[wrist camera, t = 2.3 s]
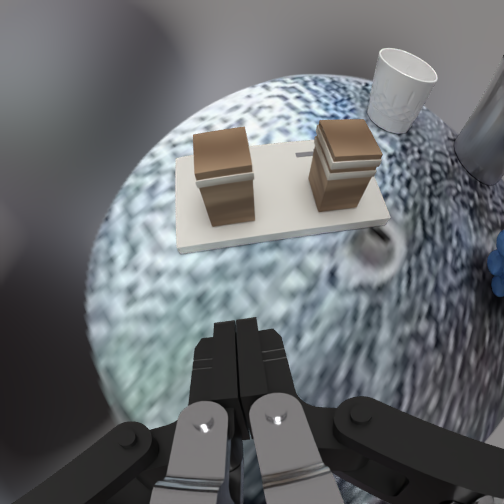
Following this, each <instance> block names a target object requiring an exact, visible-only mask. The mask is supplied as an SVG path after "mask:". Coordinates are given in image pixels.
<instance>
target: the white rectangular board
mask: <svg viewBox="0 0 504 504" xmlns="http://www.w3.org/2000/svg"><path fill="white" fill-rule="evenodd" d="M314 147H315V144H314V140H307V141H294V142H283V143H274V144H264V145H256V146H249V149H250V154H251V160H252V165H253V170H254V180H253V190H254V207H255V221H248V222H241V223H234V224H227V225H221V226H214V227H212V225H211V222H210V219H209V216H208V213H207V210H206V207H205V204H204V201H203V198H202V196H201V193H200V190H199V188H197V186H196V183H195V174H194V155H190V156H185V157H180V158H176V186H175V189H176V243H177V249H178V251H179V252H180V254H185V253H192V252H199V251H205V250H212V249H219V248H226V247H232V246H239V245H246V244H253V243H260V242H267V241H274V240H280V239H287V238H294V237H301V236H309V235H316V234H323V233H330V232H337V231H344V230H351V229H359V228H366V227H373V226H381V225H386V224H387V222H388V221H389V220H390V215H389V212H388V210H387V207H386V204H385V202H384V199H383V197H382V194H381V192H380V189H379V187H378V184H377V182H376V180H375V177H372V178H371V180H370V182H369V184H368V186H367V188H366V190H365V192H364V194H363V196H362V198H361V200H360V202H359V204H358V206H357V207H356V208H347V209H339V210H331V211H322V212H318V209H317V206H316V202H315V199H314V196H313V192H312V189H311V186H310V182H309V179H308V177H309V172H310V168H311V163H312V158H313V153H314Z"/></svg>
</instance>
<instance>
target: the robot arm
mask: <svg viewBox="0 0 504 504" xmlns="http://www.w3.org/2000/svg"><path fill="white" fill-rule="evenodd" d="M454 148H455V152H456V154H457V156H458V158H459V160H460V162H461V163H462V164H463V166H464V167H465V168H466V169H467V171H468V172H469V173H470V174H471V175H473V176H474V177H475V178H476V179H478V180H479V181H481V182H482V183H484V184H487V185H494V184H496V183H497V182H498V181H499V180H500V178H501V177H502V176H503V175H504V55H503V57H502V59H501V61H500V64H499V66H498V68H497V70H496V71H495V74H494V76H493V77H492V79H491V81H490V83H489V85H488V87H487V89H486V90H485V92H484V94H483V96H482V97H481V99H480V101H479V103H478V104H477V106H476V108H475V110H474V111H473V113H472V115H471V116H470V118H469V120H468V121H467V123H466V125H465V126H464V128H463V129H462V131H461V132H460V134H459V135H458V137H457V138H456V140H455V143H454ZM249 430H250V434H251V437H252V439H254V442H255V447H256V452H257V457H258V462H259V466H260V471H261V476H262V483H263V489H264V493H265V498H266V502H267V504H344V502H343V499H342V497H341V494H340V491H339V489H338V486H337V484H336V481H335V479H334V476H333V474H332V473H334V474H335V475H337V476H338V477H340V478H342V479H344V480H346V481H347V482H349V483H351V484H353V485H355V486H356V487H358V488H360V489H362V490H364V491H366V492H368V493H370V494H372V495H374V496H376V497H378V498H380V499H382V500H384V501H386V502H388V503H390V504H504V449H502V448H499V447H496V446H492V445H489V444H486V443H483V442H480V441H477V440H474V439H471V438H468V437H466V436H463V435H460V434H457V433H455V432H452V431H449V430H447V429H444V428H441V427H439V426H436V425H434V424H431V423H429V422H426V421H424V420H421V419H419V418H416V417H414V416H412V415H409V414H407V413H405V412H402V411H400V410H398V409H395V408H393V407H391V406H389V405H386V404H384V403H382V402H380V401H378V400H375V399H373V398H370V397H364V396H359V397H353V398H350V399H347V400H345V401H344V402H342V403H341V404H340V405H339V406H338V408H323V407H315V406H311V405H309V404H307V403H305V402H303V401H302V400H301V399H300V398H299V397H298V395H297V394H296V391H295V388H294V384H293V380H292V376H291V372H290V368H289V364H288V361H287V357H286V353H285V349H284V345H283V341H282V337H281V336H280V335H279V334H278V333H277V332H276V331H275V330H274V329H267V330H261V331H258V326H257V319H256V317H253V318H246V319H239V320H236V323H235V320H232V321H225V322H217V323H214V333H213V337H209V338H202V339H201V340H200V342H199V343H198V344H197V346H196V347H195V351H194V361H193V371H192V376H191V385H190V395H189V404H188V407H186V408H185V409H184V410H183V411H182V412H181V413H180V415H179V417H178V420H177V421H175V422H173V423H171V424H169V425H166V426H162V427H159V428H155V429H151V430H149V429H148V428H147V427H146V426H145V425H143V424H141V423H139V422H124V423H121V424H119V425H117V426H116V427H115V428H113V429H112V430H111V431H110V432H108V433H107V434H106V435H105V436H103V437H102V438H101V439H99V440H98V441H97V442H96V443H94V444H93V445H92V446H91V447H90V448H88V449H87V450H85V451H84V452H83V453H81V454H80V455H79V456H77V457H76V458H75V459H74V460H72V461H71V462H70V463H68V464H67V465H66V466H65V467H63V468H62V469H60V470H59V471H57V472H56V473H55V474H53V475H52V476H51V477H49V478H48V479H47V480H45V481H44V482H42V483H41V484H39V485H38V486H37V487H35V488H34V489H32V490H31V491H30V492H28V493H27V494H25V495H24V496H22V497H21V498H20V499H18V500H16V501H15V502H13V503H12V504H243V483H244V458H243V443H242V440H249V439H250V435H249Z"/></svg>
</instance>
